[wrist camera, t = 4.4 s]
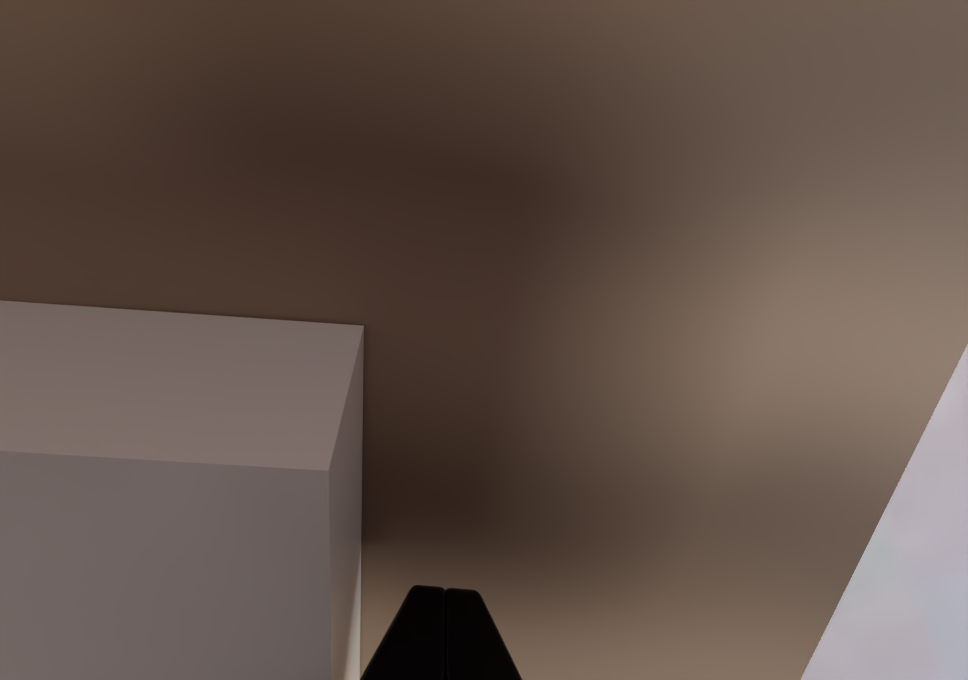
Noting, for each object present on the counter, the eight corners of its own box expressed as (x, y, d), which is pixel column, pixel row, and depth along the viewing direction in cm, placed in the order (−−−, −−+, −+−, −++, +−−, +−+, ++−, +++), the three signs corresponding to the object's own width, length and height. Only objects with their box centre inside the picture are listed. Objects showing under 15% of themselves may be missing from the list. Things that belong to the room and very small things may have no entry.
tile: (359, 720, 12) (334, 898, 10) (-42, 703, 12) (-153, 883, 10) (364, 324, 9) (328, 470, 7) (-199, 286, 9) (-423, 425, 7)
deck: (644, 725, 19) (683, 914, 16) (122, 689, 18) (41, 882, 15) (970, -165, 10) (1228, -183, 7) (-22, -328, 9) (-313, -445, 6)
